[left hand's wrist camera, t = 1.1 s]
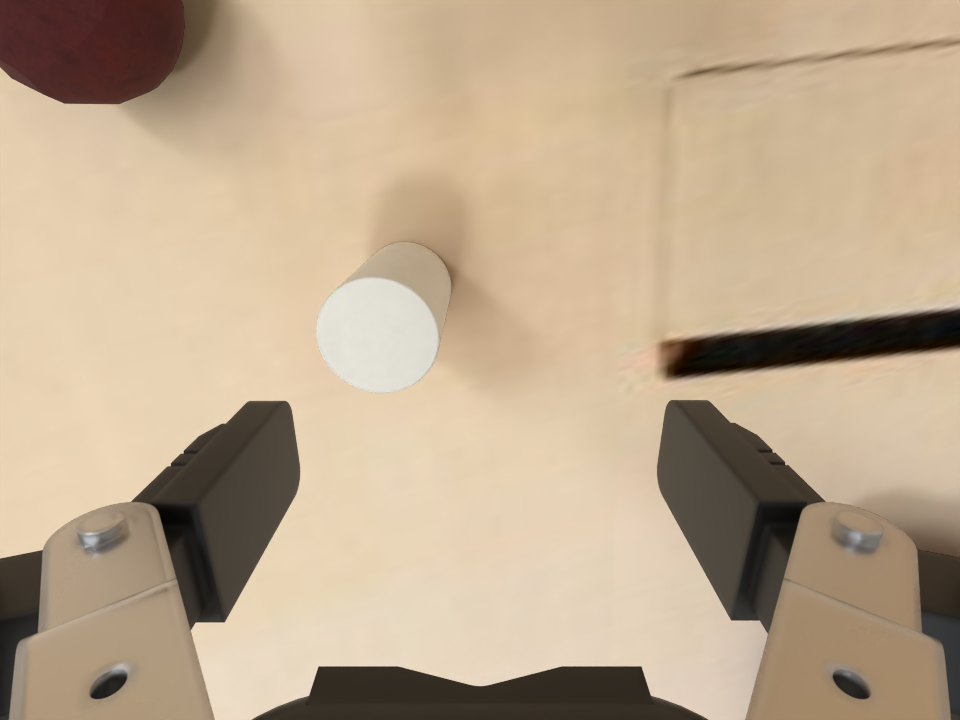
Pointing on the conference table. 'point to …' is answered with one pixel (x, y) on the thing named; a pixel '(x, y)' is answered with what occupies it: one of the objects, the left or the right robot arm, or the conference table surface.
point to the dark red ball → (90, 46)
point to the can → (386, 319)
